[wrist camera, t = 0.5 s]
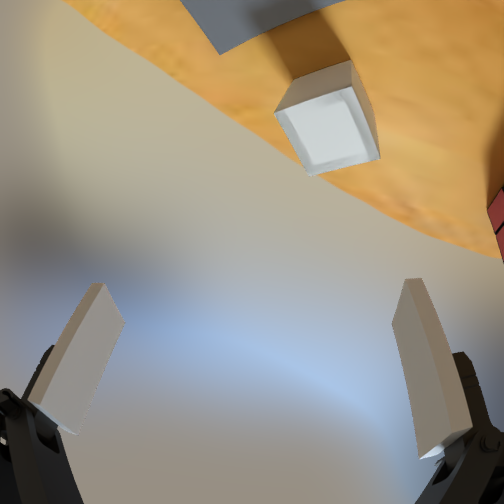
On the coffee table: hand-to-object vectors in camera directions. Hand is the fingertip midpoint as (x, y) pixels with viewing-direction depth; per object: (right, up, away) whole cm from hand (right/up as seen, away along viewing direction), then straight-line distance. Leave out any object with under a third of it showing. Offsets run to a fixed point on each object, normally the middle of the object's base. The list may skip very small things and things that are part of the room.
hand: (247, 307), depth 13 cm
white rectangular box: (+9, +20, +17) cm, 28 cm away
